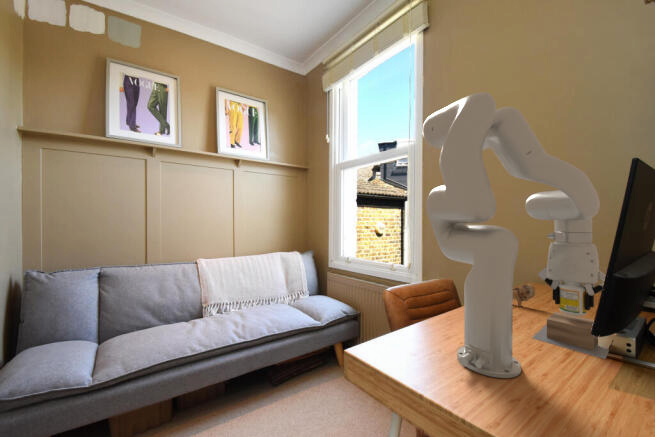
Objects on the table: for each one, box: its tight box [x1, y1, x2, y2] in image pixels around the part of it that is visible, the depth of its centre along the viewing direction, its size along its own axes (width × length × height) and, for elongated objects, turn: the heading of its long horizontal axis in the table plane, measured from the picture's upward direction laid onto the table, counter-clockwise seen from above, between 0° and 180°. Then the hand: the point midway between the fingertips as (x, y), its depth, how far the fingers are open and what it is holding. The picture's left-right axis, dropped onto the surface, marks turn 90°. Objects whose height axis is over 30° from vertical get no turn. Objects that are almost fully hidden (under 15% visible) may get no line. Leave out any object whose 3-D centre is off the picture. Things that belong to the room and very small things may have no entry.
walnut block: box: [546, 311, 598, 350], centre depth 73 cm, size 9×9×5 cm
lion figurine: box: [512, 283, 536, 308], centre depth 102 cm, size 15×5×9 cm, turn 47°
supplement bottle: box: [559, 281, 587, 317], centre depth 73 cm, size 5×5×10 cm
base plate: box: [531, 323, 610, 360], centre depth 73 cm, size 16×14×1 cm
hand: (572, 305), depth 73 cm, fingers closed on supplement bottle, 5 cm apart
